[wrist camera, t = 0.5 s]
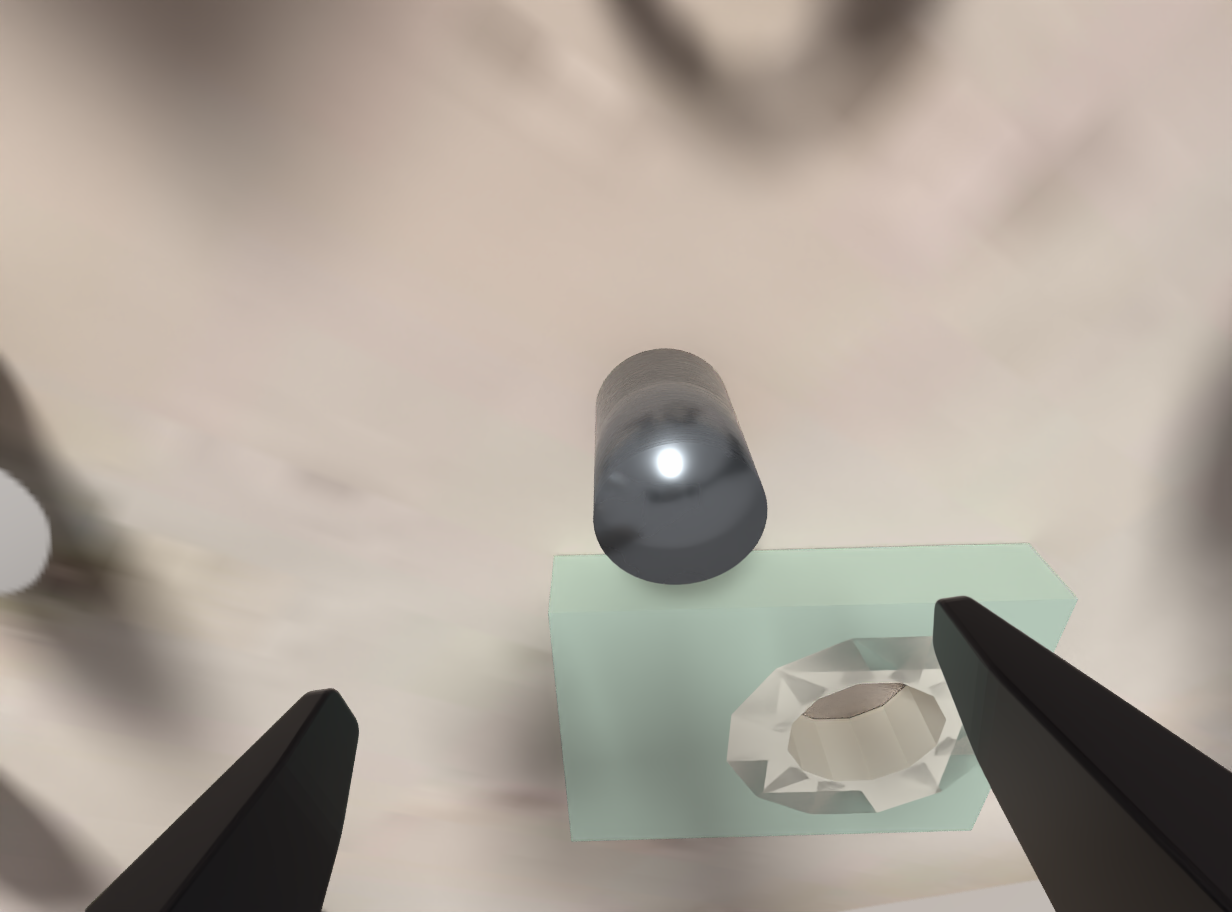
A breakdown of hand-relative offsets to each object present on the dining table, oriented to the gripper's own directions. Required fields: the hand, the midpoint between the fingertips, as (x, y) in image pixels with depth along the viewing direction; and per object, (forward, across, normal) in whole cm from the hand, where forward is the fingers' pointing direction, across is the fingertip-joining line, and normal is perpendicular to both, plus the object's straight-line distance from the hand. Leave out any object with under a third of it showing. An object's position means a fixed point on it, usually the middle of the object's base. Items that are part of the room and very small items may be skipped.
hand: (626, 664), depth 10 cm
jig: (+13, -3, +16) cm, 21 cm away
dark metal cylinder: (+13, -1, +2) cm, 13 cm away
